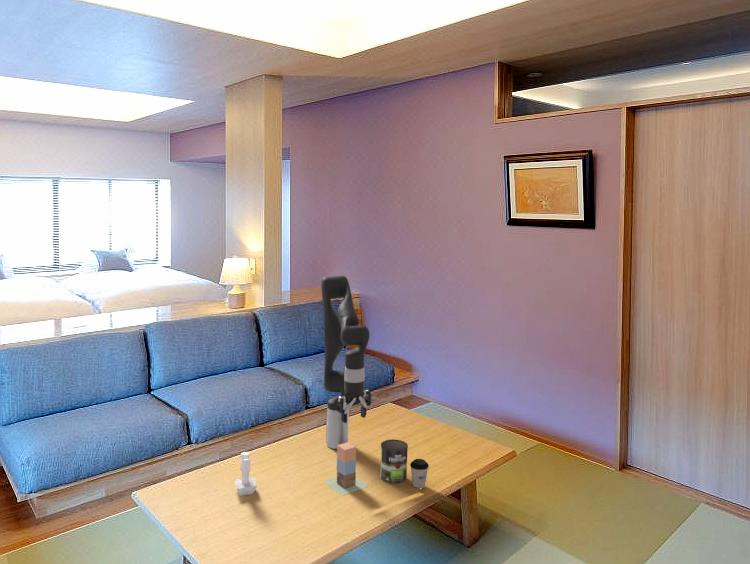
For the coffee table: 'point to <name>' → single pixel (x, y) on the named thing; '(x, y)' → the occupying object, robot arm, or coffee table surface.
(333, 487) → the baseplate
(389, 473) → the coffee can
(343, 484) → the walnut block
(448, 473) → the coffee table surface
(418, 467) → the coffee cup
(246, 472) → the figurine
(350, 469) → the slate block
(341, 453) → the terracotta block
